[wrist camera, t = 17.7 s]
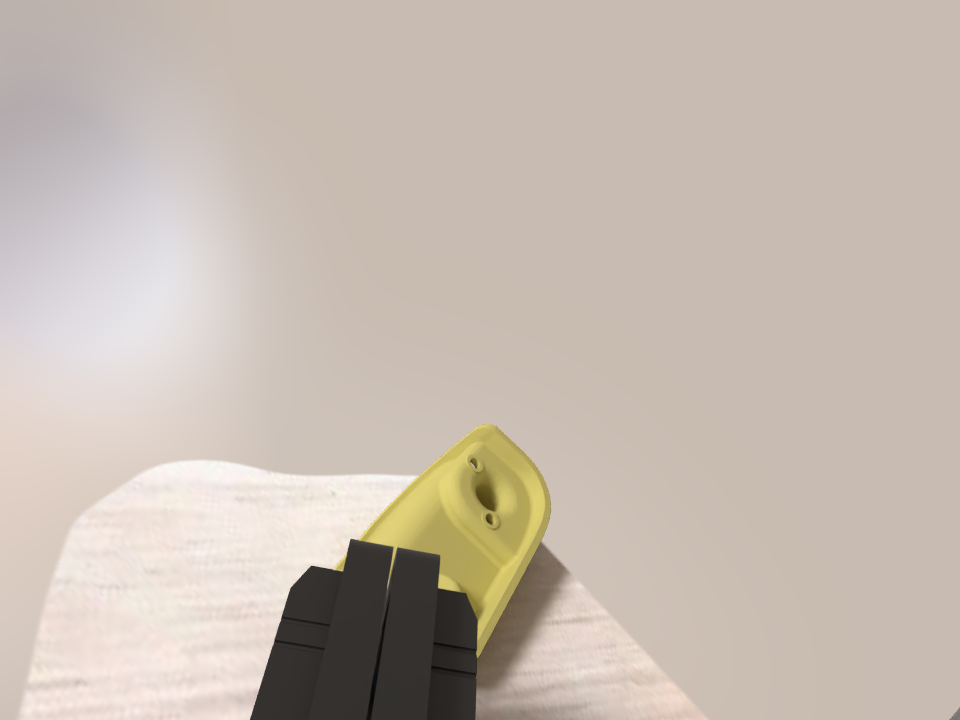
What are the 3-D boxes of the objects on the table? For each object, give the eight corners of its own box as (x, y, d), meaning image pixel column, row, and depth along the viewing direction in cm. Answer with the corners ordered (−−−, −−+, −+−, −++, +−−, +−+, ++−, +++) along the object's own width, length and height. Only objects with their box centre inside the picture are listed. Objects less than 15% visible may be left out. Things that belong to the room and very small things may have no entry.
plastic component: (464, 683, 47) (345, 570, 46) (403, 718, 51) (294, 615, 51) (567, 493, 63) (478, 408, 62) (513, 532, 67) (430, 453, 67)
